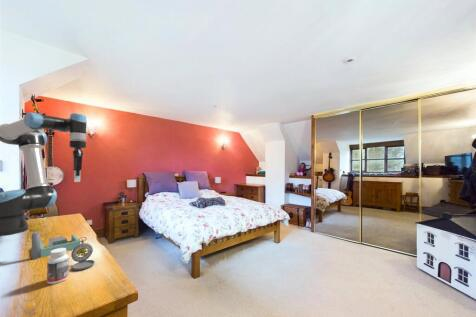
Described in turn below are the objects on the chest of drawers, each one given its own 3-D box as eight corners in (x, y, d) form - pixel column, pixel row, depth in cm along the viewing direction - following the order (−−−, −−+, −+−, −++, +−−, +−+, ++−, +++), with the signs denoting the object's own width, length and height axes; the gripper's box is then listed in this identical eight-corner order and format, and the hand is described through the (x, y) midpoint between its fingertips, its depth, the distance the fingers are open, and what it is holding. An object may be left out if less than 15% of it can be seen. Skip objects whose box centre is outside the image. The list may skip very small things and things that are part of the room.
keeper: (29, 249, 93) (30, 227, 93) (73, 240, 104) (74, 220, 105) (31, 260, 83) (32, 234, 83) (80, 248, 94) (80, 226, 94)
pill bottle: (42, 282, 67) (43, 251, 67) (62, 274, 72) (62, 245, 72) (53, 286, 65) (53, 254, 65) (72, 277, 70) (72, 248, 70)
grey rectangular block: (48, 247, 96) (48, 238, 96) (62, 244, 100) (62, 235, 100) (52, 251, 92) (52, 242, 92) (67, 247, 96) (67, 238, 96)
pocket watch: (82, 272, 73) (83, 243, 73) (63, 269, 75) (64, 241, 75) (102, 261, 81) (102, 235, 81) (84, 259, 83) (84, 234, 83)
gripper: (67, 141, 121) (66, 181, 120) (71, 139, 112) (70, 182, 112) (83, 142, 127) (82, 180, 126) (88, 140, 118) (87, 181, 117)
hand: (77, 181), depth 119 cm, fingers closed
